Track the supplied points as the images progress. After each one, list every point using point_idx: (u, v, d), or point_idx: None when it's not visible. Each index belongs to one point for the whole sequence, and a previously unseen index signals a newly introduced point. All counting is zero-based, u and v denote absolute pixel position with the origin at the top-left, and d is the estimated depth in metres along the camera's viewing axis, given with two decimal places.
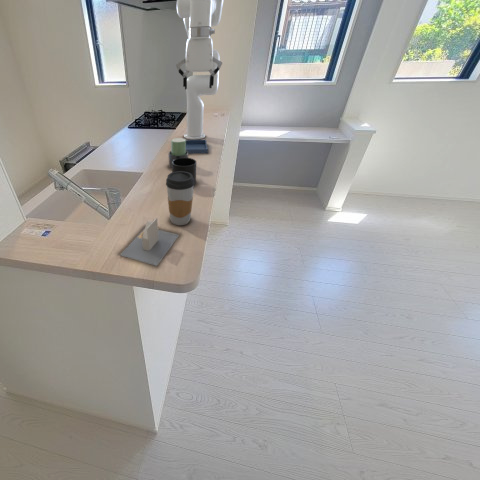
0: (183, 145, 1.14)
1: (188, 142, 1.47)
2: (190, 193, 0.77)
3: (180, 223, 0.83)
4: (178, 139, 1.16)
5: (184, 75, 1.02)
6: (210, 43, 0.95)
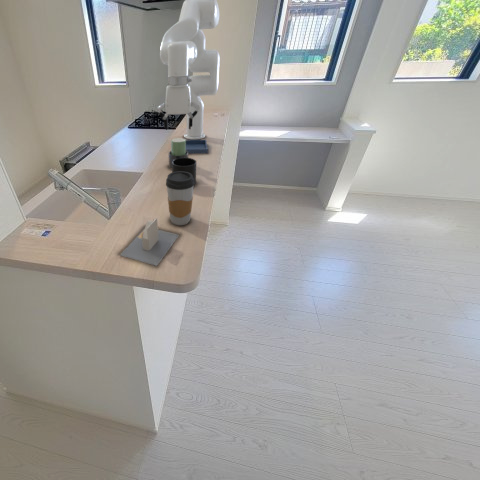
0: (183, 145, 1.14)
1: (188, 142, 1.47)
2: (190, 193, 0.77)
3: (180, 223, 0.83)
4: (178, 139, 1.16)
5: (164, 117, 1.09)
6: (187, 90, 1.02)
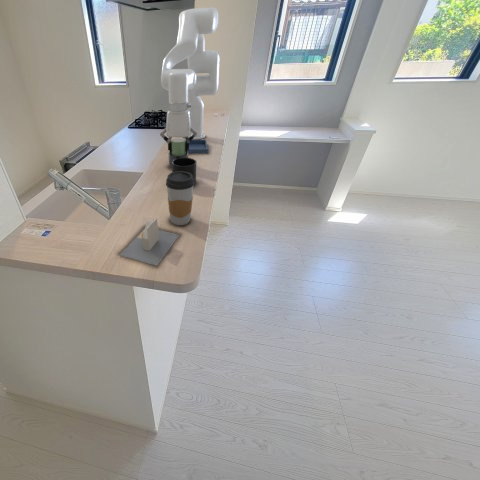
0: (183, 145, 1.14)
1: None
2: (190, 193, 0.77)
3: (180, 223, 0.83)
4: (178, 139, 1.16)
5: (168, 141, 1.15)
6: (187, 116, 1.07)
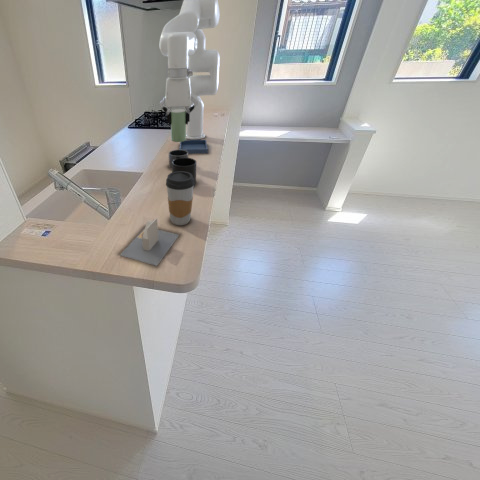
0: (183, 116, 1.08)
1: (188, 142, 1.47)
2: (190, 193, 0.77)
3: (180, 223, 0.83)
4: (178, 110, 1.09)
5: (168, 112, 1.08)
6: (188, 82, 1.01)
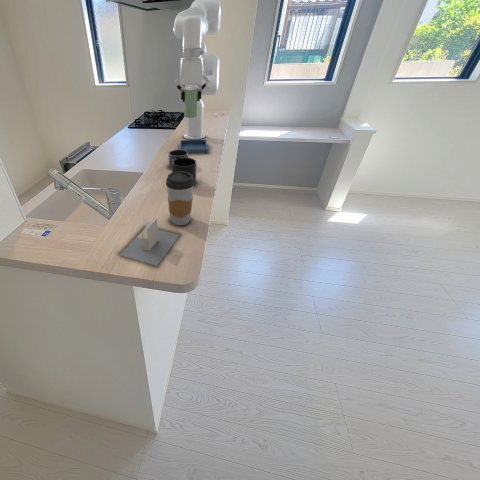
0: (196, 93, 1.19)
1: (188, 142, 1.47)
2: (190, 193, 0.77)
3: (180, 223, 0.83)
4: (191, 88, 1.21)
5: (182, 90, 1.20)
6: (200, 62, 1.12)
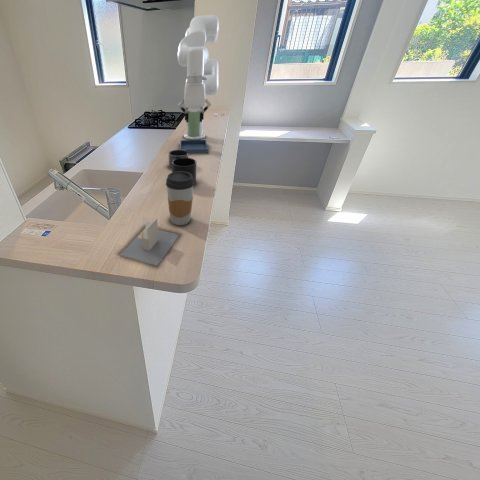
0: (198, 115, 1.29)
1: (188, 142, 1.47)
2: (190, 193, 0.77)
3: (180, 223, 0.83)
4: (194, 110, 1.31)
5: (185, 112, 1.30)
6: (203, 87, 1.23)
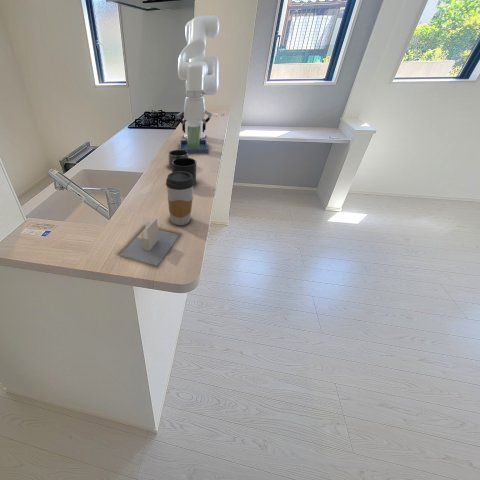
0: (198, 129, 1.33)
1: None
2: (190, 193, 0.77)
3: (180, 223, 0.83)
4: (193, 124, 1.35)
5: (183, 123, 1.34)
6: (202, 101, 1.26)
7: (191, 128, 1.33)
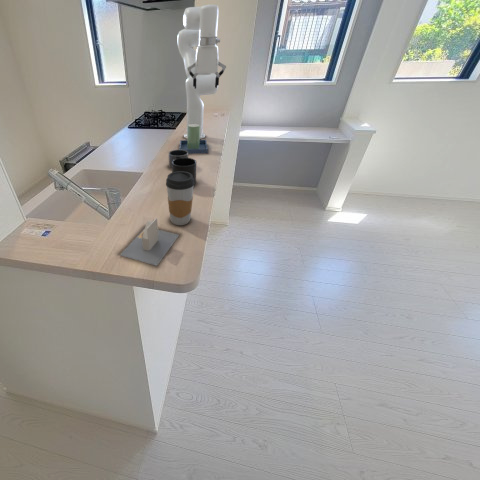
0: (198, 129, 1.33)
1: None
2: (190, 193, 0.77)
3: (180, 223, 0.83)
4: (193, 124, 1.35)
5: (194, 77, 1.22)
6: (216, 50, 1.15)
7: (191, 128, 1.33)
